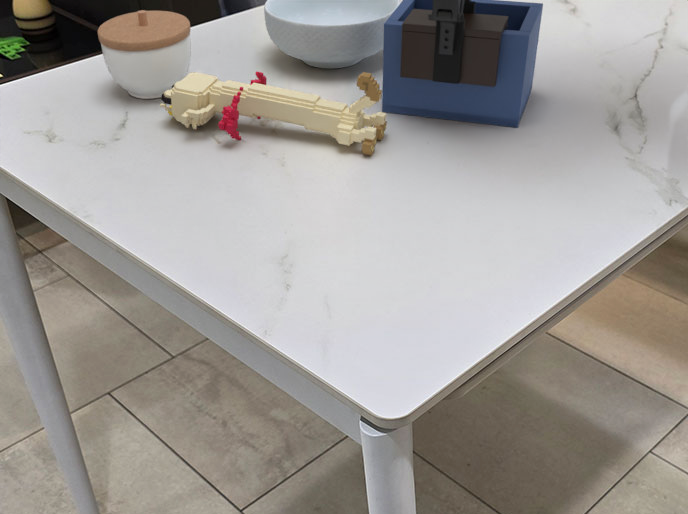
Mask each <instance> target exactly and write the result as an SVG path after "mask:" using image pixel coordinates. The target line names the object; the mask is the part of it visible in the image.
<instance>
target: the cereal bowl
mask: <svg viewBox="0 0 688 514" xmlns="http://www.w3.org/2000/svg"><path fill="white" fill-rule="evenodd" d="M400 3H401V0H266V1H265V3H264V6H263V15H264V21H265V22H264V23H265V27H266V31H267V33H268V36H269V38H270V40H271V41H272V43H273V44H274V45H275V47H277V49H279V50H280V51H281V52H282V53H284V54H285V55H288V56H290V57H292V58H294V59H297V60H301V61H302V62H303V63H304V64H306V65H308V66H311V67H313V68H319V69H342V68H348V67H351V66H353V65H357V64H359V63H360V62H362V60H363V59H366V58H369V57H371V56H374V55H376V54H377V53H379V52H381V51H383V44H384V23H385V22H386V21H387V19H388V18H389V17H390V16H391V14H392V13H393V12H394V11H395V10H396V8H397V7H398V6H399V5H400Z"/></svg>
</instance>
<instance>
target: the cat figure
mask: <svg viewBox="0 0 688 514" xmlns="http://www.w3.org/2000/svg"><path fill="white" fill-rule="evenodd" d="M255 77H256V78H255V79H251V80H250V83H245V82H241V81H236V80H235V81H234V80H231V79H230V80H229V79H228V80H226V81H221V80H220V79H219V78H218V77H217V76H216V75H211V74H207V73H202V72H198V71H194V72H189V73H187V74H186V76H185V78H183V79H182V80H181V81H180V82H179V81H177V82H176V83H175V84H174V85H173V86H172V89H171V90H167V91H165V92H164V93H163V94H162V97H161V101H162V102H161V103H159V107H160V108H163V109H164V110H165V111H167V114H168V115H169V116H173V117H174V119H175V120H176V121H177V122H180V123H181V125H184V126H185V128H188V129H189V128H190V125H191V127H192V129H193V130H197V129H198V127H200V126H204V125H205V124H207V123H208V122H209V121H210V120H211V118H213V117H214V116H215V115H216V114H222V117H221V119H220V121H219V122H217V123H218V129H219V130H220V131H225V133H227V135H229V137H230V138H231V139H233V140H235V141H241V140H242V136H240V131H239V130H237V129H238V128H239V125H238V124H239V122H238V120H239V118H240V116H242V117H248V118H252V119H258V120H260V119H261V118H264V119H267V120H268V119H269V120H274V121H278V122H283V123H288V124H292V125H297V126H301V127H303V128H304V129H305V130H309V131H313V132H318V133H323V134H327V135H330V136H331V138H334V139H335V141H337V143H338V144H339V145H344V146H348V147H349V146H351V144H354V142H355V143H360V144H361V143H362V144H361V152H362V155H366V156H373V154H374V153H375V147H376V146H377V141H382V140H383V139H384V138H385V132H386V130H387V124H388V121H387V112H382V111H377V113H374V112H372V113H371V114H366V113H365V111H364V110H365V109H370V108H371V107H373V106H374V105H376V104H377V103H379V102H380V101H381V100H382V90H383V89H380V86H381V85H380V83H378V80H377V79H375V76H373V73H372V72H371V73H370V72H365V71H363V72H361V73H360V74H359V75H358V77H357V78H356V87H359V88H358V89H359V91H364V95H363V96H361V97H360V98H358V99H357V100H356V101H354V102H353V103H351V104H350V105H349V106H348V104H347V103H345V102H340V101H334V100H329V99H324V98H321V95H317V94H314V93H313V94H312V93H308V92H304V91H299V90H298V91H297V90H293V89H289V88H283V87H277V86H273V85H269V84H267V80H268V79H267V76H266V75H264V72H261V71H258V70H257V71H255ZM167 105H169V106H167ZM365 127H366V128H365Z"/></svg>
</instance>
